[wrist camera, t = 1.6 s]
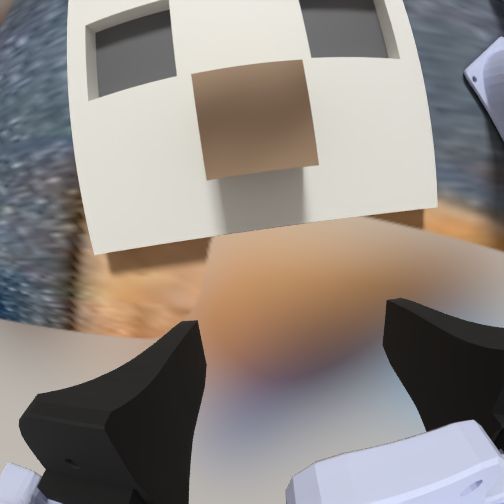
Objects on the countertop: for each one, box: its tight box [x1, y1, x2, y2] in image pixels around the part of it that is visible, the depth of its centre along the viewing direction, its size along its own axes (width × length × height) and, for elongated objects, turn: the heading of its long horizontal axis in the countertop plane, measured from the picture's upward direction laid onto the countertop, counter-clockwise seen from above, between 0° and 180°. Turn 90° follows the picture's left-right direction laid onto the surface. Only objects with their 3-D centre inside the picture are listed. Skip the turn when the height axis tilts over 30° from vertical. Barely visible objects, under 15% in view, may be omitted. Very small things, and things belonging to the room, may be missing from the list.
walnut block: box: [191, 60, 319, 180], centre depth 15 cm, size 5×5×4 cm
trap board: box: [67, 0, 437, 255], centre depth 16 cm, size 28×23×2 cm
